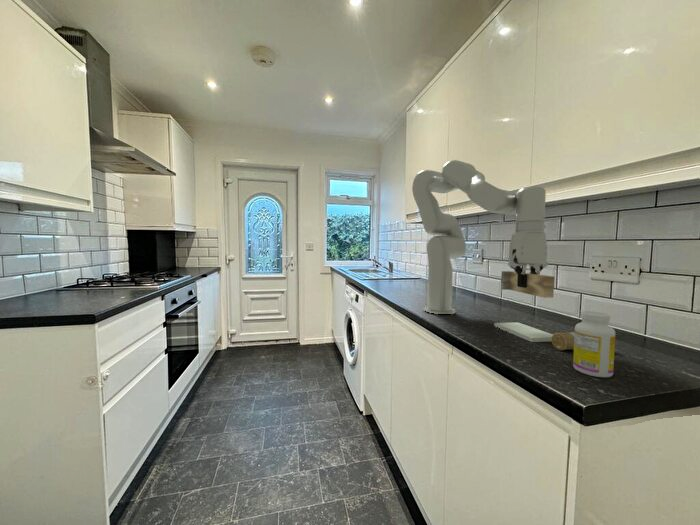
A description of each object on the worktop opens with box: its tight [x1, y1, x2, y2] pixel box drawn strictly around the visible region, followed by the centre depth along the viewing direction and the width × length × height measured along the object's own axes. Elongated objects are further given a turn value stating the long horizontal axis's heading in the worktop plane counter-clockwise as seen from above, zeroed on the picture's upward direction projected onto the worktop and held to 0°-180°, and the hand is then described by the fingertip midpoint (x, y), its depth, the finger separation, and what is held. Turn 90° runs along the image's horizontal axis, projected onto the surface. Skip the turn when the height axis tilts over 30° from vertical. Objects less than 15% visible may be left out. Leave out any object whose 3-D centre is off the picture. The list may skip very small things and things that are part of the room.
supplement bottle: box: [572, 310, 616, 378], centre depth 61 cm, size 7×7×13 cm
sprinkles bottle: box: [550, 331, 575, 351], centre depth 75 cm, size 5×5×13 cm
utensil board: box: [493, 322, 554, 343], centre depth 89 cm, size 16×9×1 cm, turn 9°
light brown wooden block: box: [500, 270, 555, 299], centre depth 87 cm, size 15×7×6 cm, turn 10°
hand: (527, 286), depth 88 cm, fingers closed on light brown wooden block, 3 cm apart
